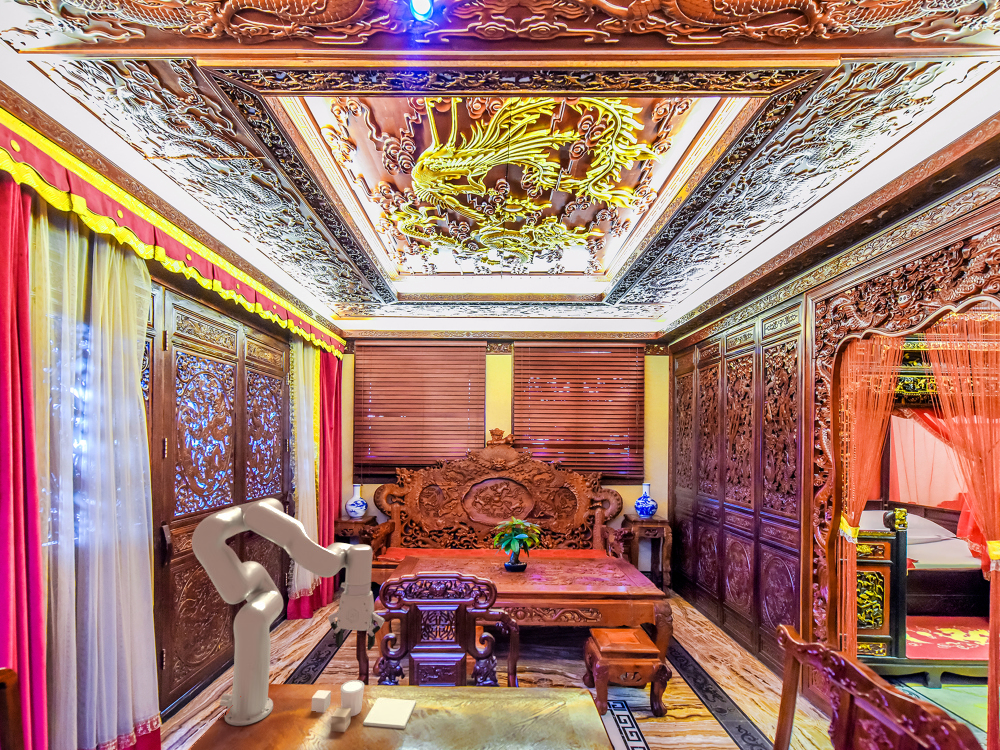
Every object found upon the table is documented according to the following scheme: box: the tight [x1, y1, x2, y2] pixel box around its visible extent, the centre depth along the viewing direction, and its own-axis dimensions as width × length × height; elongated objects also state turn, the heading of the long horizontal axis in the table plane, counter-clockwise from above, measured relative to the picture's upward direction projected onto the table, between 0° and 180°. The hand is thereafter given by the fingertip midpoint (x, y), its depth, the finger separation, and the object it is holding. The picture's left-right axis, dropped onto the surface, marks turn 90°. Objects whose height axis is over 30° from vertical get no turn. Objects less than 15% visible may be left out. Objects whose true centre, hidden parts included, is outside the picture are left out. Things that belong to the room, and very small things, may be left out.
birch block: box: [330, 706, 352, 733], centre depth 135 cm, size 4×4×4 cm
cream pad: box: [362, 697, 417, 730], centre depth 141 cm, size 12×12×1 cm
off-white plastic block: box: [310, 689, 332, 714], centre depth 143 cm, size 4×4×4 cm
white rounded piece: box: [340, 679, 365, 717], centre depth 142 cm, size 7×7×7 cm
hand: (354, 646), depth 143 cm, fingers open, 9 cm apart
